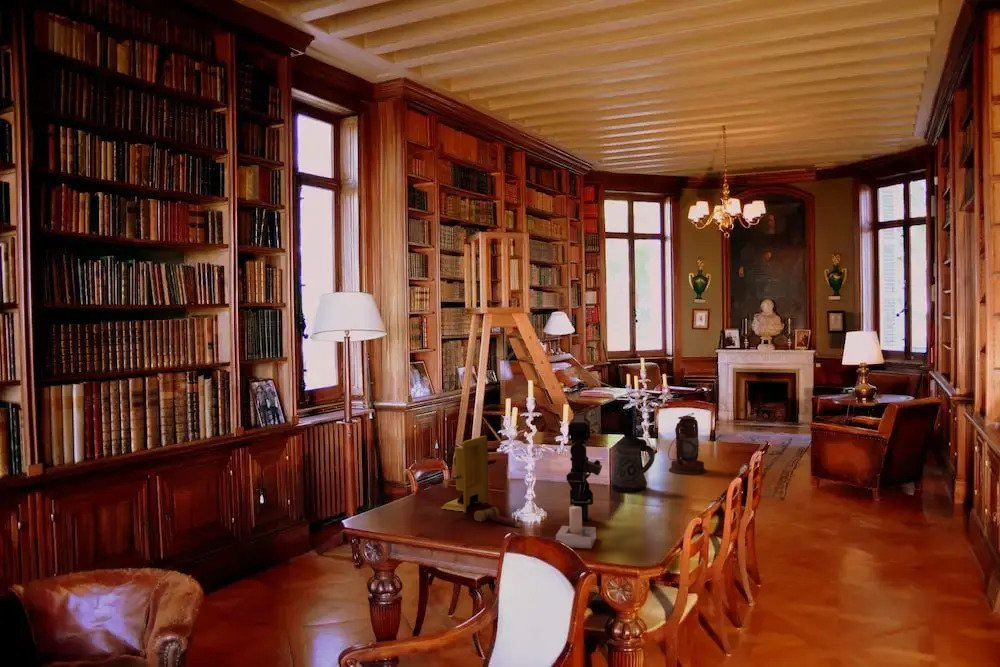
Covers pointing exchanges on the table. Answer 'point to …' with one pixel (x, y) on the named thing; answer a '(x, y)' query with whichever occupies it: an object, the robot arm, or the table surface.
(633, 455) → the beer stein
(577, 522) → the white tall rounded piece
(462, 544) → the table surface
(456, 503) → the olive upright panel stand
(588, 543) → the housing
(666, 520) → the table surface
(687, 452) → the lantern
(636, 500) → the table surface
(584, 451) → the robot arm
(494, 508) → the gavel
